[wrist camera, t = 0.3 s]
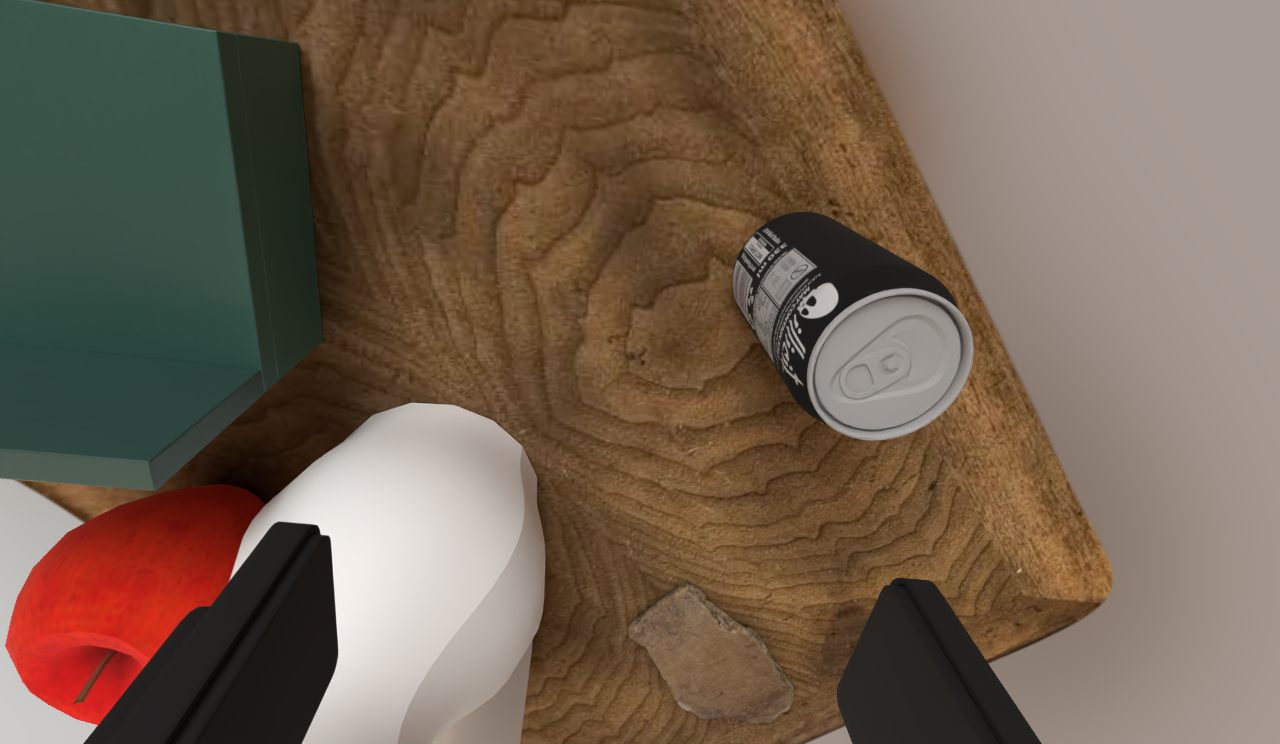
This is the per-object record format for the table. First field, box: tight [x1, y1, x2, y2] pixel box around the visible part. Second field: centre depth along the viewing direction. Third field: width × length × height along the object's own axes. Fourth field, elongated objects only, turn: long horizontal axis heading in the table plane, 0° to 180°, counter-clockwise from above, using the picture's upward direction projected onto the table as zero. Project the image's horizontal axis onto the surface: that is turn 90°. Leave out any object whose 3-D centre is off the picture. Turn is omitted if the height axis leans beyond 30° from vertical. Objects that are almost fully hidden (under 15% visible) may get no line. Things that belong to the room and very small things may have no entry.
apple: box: [5, 484, 266, 725], centre depth 30 cm, size 10×10×12 cm
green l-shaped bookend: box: [0, 0, 323, 491], centre depth 22 cm, size 14×14×13 cm
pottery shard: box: [627, 583, 795, 724], centre depth 43 cm, size 8×3×15 cm
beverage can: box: [733, 212, 974, 440], centre depth 26 cm, size 7×7×12 cm
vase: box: [229, 403, 545, 744], centre depth 27 cm, size 14×14×20 cm
